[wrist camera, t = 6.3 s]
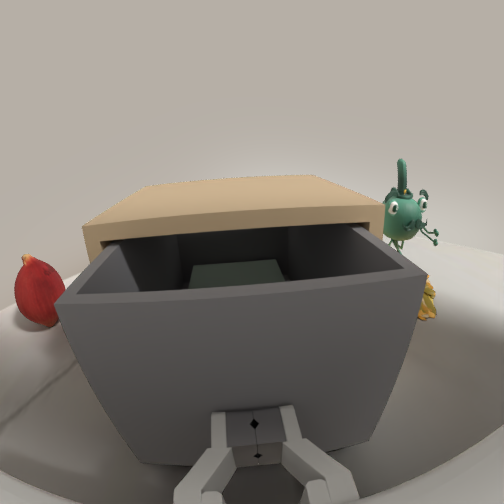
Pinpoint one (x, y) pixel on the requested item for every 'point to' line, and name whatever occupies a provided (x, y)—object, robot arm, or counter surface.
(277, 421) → the robot arm
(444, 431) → the counter surface
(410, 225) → the frog figurine
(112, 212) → the sleeve
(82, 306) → the grey open box
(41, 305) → the onion
